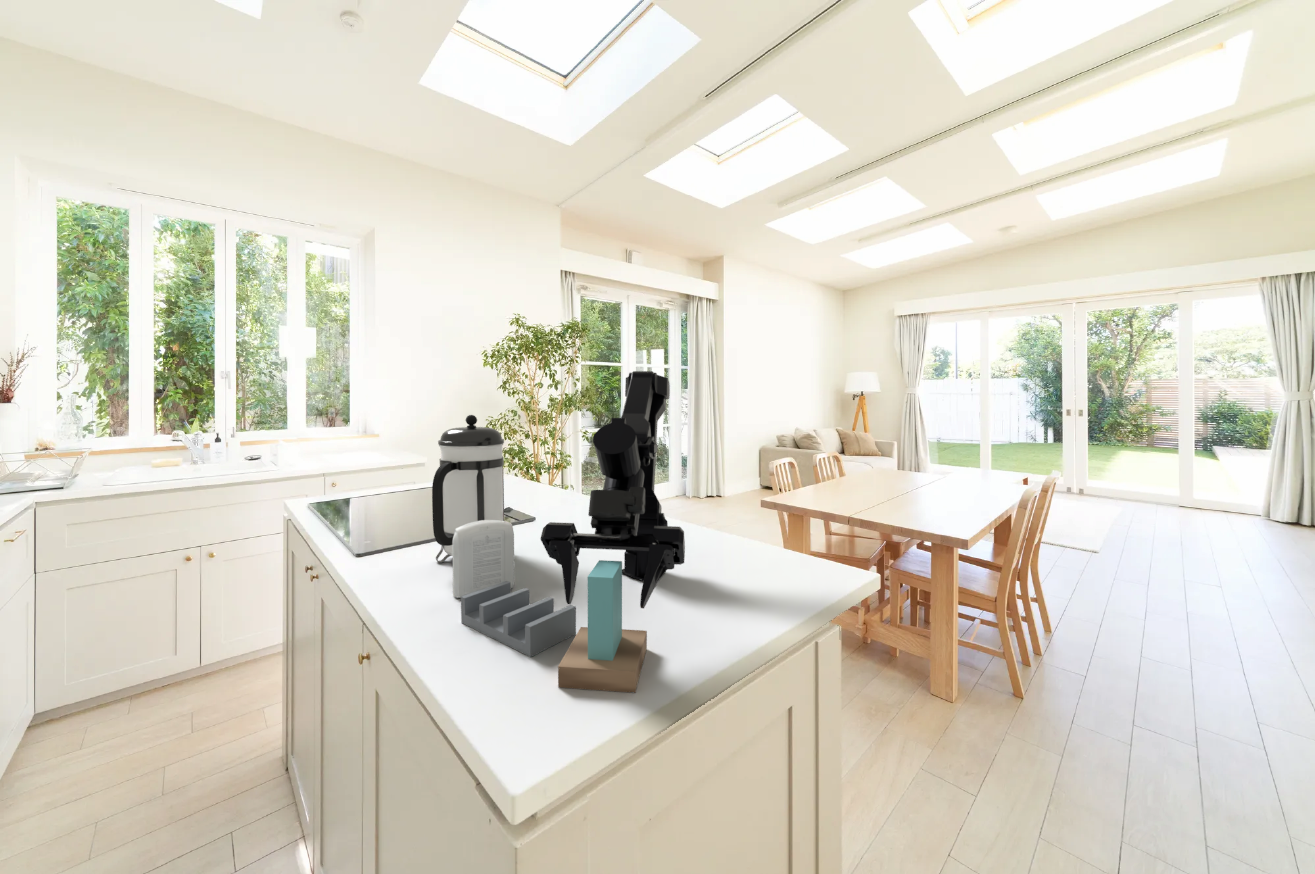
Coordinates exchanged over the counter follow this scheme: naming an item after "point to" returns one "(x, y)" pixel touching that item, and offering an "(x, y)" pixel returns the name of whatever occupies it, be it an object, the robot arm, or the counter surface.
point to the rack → (517, 618)
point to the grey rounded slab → (482, 556)
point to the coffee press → (467, 481)
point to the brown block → (604, 664)
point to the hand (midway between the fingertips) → (604, 605)
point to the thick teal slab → (604, 610)
